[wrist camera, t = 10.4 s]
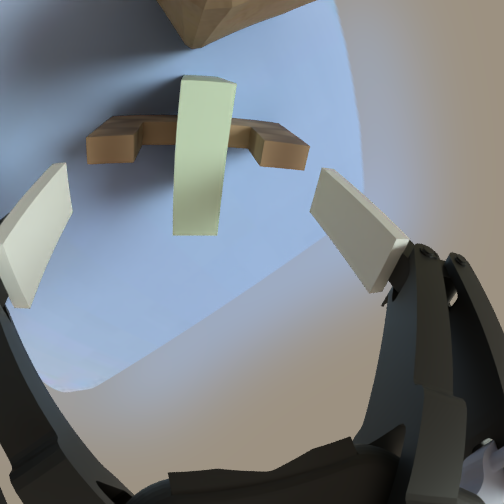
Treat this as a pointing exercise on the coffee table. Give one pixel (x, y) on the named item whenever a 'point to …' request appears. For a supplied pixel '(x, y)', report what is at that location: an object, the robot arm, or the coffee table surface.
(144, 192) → the coffee table surface
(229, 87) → the pale green block
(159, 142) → the brown wooden bracket
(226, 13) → the wooden block
